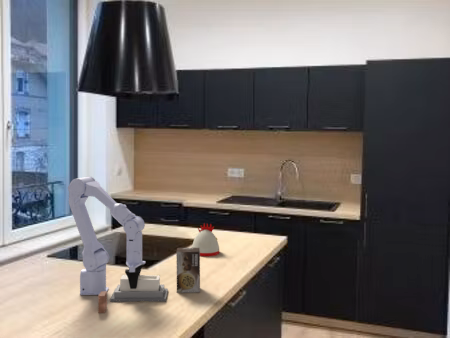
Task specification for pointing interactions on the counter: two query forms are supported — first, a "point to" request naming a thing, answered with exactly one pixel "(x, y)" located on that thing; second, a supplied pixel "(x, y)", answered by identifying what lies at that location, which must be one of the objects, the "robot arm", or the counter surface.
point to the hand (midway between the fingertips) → (134, 285)
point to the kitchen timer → (206, 242)
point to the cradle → (139, 295)
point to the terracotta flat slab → (102, 302)
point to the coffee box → (188, 270)
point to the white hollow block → (141, 283)
